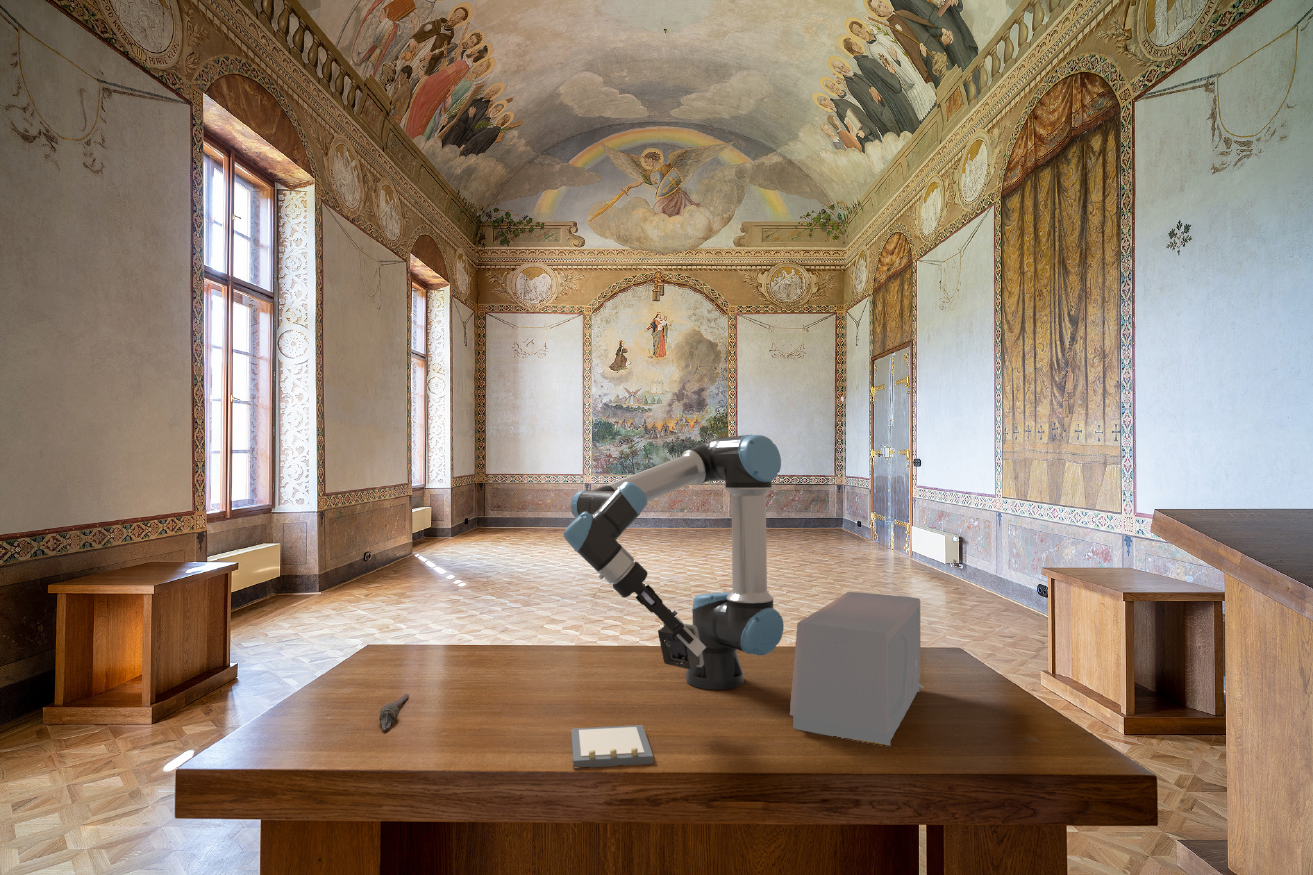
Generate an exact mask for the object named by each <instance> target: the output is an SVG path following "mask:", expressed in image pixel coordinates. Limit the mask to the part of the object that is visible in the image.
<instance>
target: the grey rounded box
mask: <svg viewBox="0 0 1313 875" xmlns="http://www.w3.org/2000/svg"><path fill="white" fill-rule="evenodd" d="M796 624H797V625H796V632H795V634H796V635H795V636H796V637H795V648H794V660H793V671H792V682H791V693H790V694H791V696H790V704H789V705H790V706H789V708H790V710H789V716H791V717H792V718H793V719H792V720H793V724H792V725H793V727H792V728H793V729H794V730H799V731H804V732H809V733H814V734H818V735H825V736H828V737H829V736H830V737H833V736H837V737H836V738H838V737H841V738H840V739H844V738H850V739H854V740H862V741H867V742H875V743H879V744H885V745H890V746H891V740H892V738H894V735H895V733H896V732H897V729H898V728H899V727H900V725H901V723H902V721H903V720H904V717H905V715H906V714H907V712H908V710H909V708H910V707H911V704H912V702H913V701H914V699H915V697H916V695H917V694H918V693H917V692H919V693H920V688H921V689H925V688H924V685H922V684H921V683H920V679H921V598H919V597H911V596H902V595H891V594H883V593H882V594H881V593H880V594H879V593H870V592H869V593H868V592H858V591H857V592H855V591H847V592H846V593H844V594H842V595H841V596H838V597H837V598H835V600H833V601H831V602H830V603H828V604H827V605H825V606H823V607H822V608H820V609H819V610H817V611H815V612H813V613H811V614H810V615H809V616H808V617H807V616H806V617H805V618H803V619H801V620H799V622H798V621H797V623H796ZM854 740H853V741H854Z"/></svg>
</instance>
